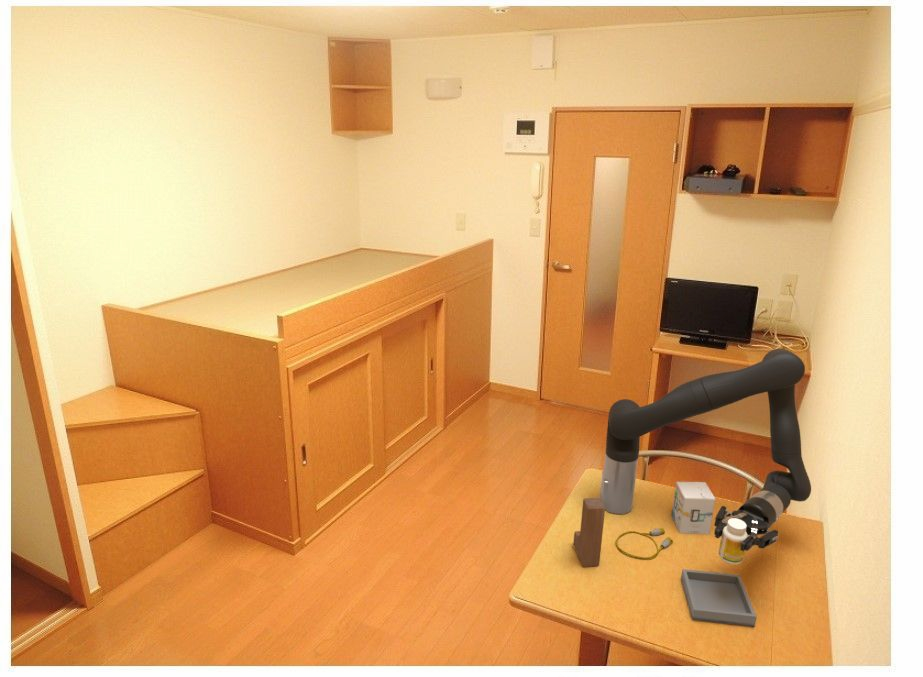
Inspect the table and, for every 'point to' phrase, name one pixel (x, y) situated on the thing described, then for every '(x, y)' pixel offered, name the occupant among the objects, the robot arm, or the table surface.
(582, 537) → the wooden block
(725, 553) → the supplement bottle
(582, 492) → the table surface
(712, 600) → the tray
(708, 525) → the ink box
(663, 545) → the extension cord
